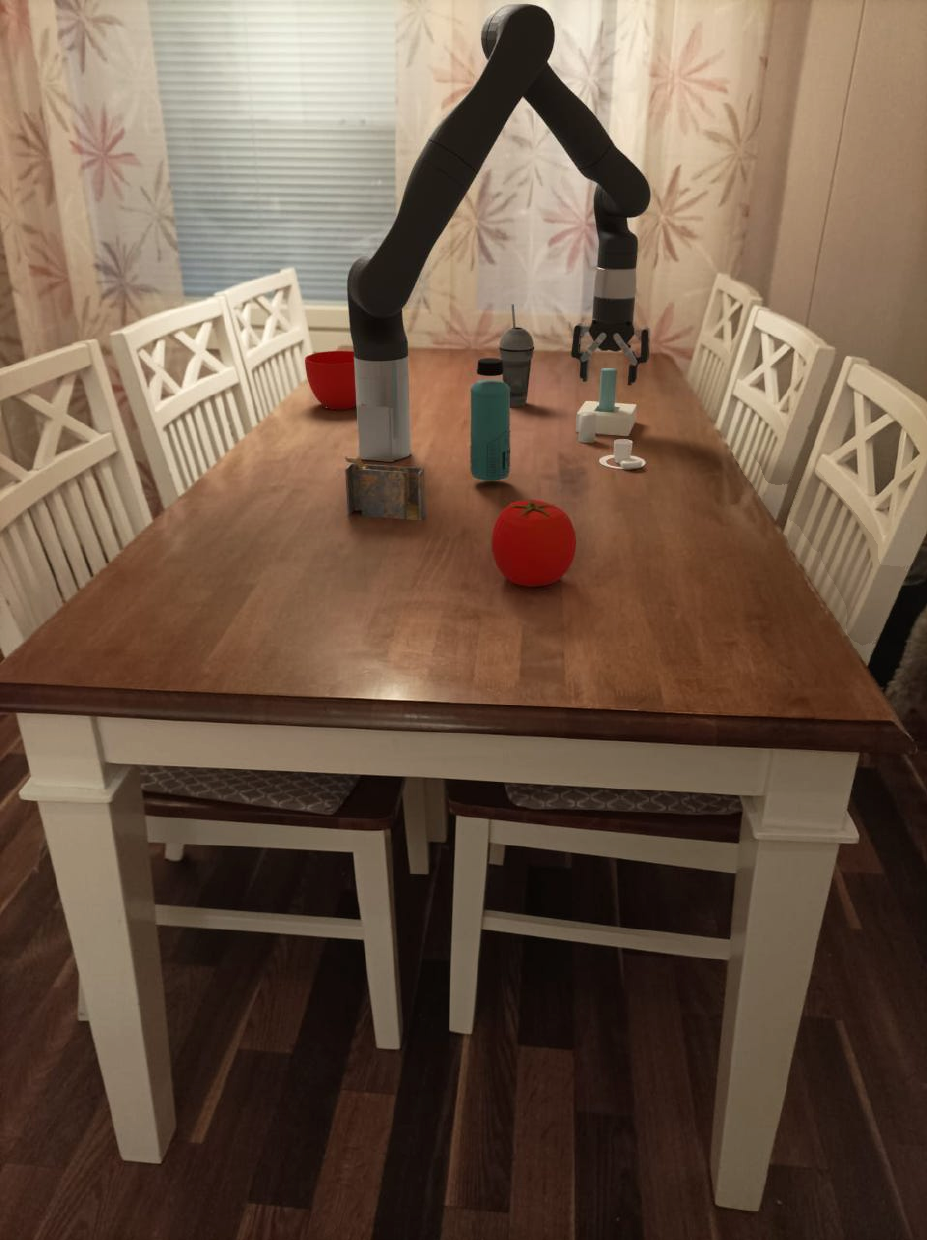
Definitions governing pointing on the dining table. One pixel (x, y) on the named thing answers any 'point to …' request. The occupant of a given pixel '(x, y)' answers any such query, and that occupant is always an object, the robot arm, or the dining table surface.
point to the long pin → (607, 390)
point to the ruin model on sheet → (385, 490)
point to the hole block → (611, 418)
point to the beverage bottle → (490, 423)
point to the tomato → (533, 543)
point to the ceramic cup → (332, 378)
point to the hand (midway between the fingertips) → (607, 382)
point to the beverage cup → (516, 362)
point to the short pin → (587, 427)
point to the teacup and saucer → (623, 456)
